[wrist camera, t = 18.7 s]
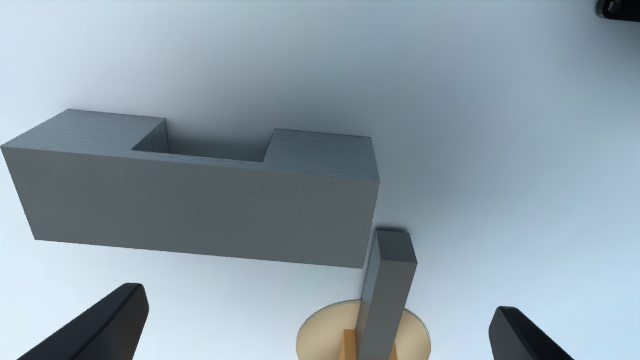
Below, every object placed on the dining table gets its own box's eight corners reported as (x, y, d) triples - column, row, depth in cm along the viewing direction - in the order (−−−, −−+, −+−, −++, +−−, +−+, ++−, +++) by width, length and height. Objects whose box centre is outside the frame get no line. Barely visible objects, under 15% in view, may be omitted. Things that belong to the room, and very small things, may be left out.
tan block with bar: (422, 234, 22) (434, 272, 20) (383, 367, 29) (388, 410, 26) (362, 228, 22) (366, 265, 20) (337, 363, 29) (337, 405, 26)
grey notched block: (370, 137, 20) (379, 180, 16) (357, 214, 22) (362, 268, 18) (67, 109, 20) (-1, 146, 16) (88, 190, 22) (34, 239, 18)
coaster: (444, 306, 26) (445, 310, 26) (414, 390, 31) (414, 395, 31) (300, 293, 26) (300, 298, 26) (293, 380, 31) (292, 385, 30)
